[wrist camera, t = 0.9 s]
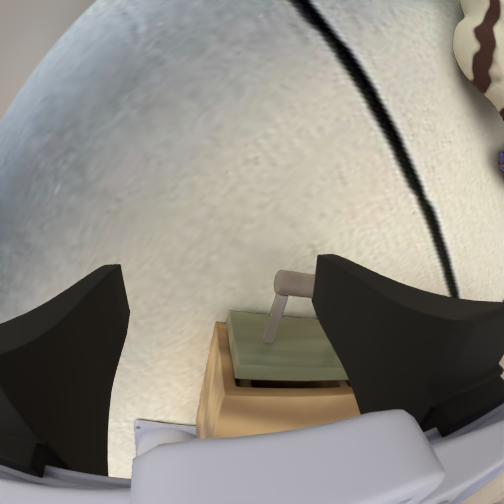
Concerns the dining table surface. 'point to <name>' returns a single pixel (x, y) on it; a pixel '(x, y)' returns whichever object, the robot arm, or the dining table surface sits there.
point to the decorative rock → (501, 161)
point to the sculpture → (482, 47)
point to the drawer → (283, 343)
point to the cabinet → (261, 401)
